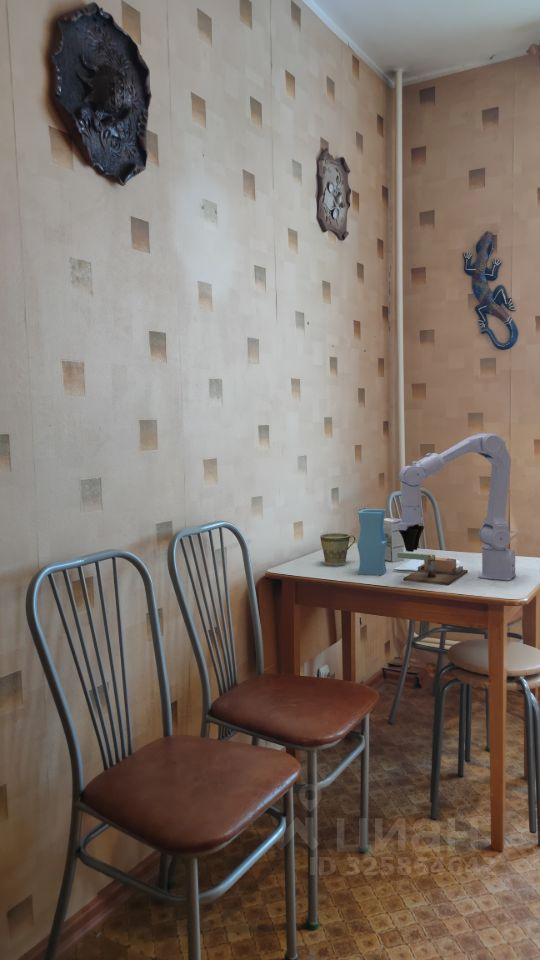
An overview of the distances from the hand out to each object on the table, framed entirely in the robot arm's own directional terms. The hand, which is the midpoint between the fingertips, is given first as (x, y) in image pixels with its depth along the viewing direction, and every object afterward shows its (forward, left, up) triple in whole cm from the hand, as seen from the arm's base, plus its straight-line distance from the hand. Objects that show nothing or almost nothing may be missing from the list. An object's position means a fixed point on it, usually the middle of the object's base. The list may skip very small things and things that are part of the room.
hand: (411, 550), depth 214 cm
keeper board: (-4, -9, -9) cm, 14 cm away
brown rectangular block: (-4, -13, -9) cm, 16 cm away
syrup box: (+18, -27, -10) cm, 34 cm away
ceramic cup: (+32, -14, -10) cm, 36 cm away
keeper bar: (+1, -5, -4) cm, 6 cm away
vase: (+16, -6, -10) cm, 19 cm away
